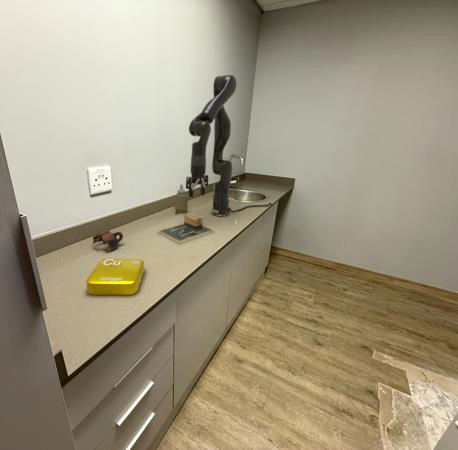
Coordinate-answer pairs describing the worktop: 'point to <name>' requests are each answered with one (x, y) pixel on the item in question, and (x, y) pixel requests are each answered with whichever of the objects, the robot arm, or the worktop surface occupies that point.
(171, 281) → the worktop surface
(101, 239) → the brown teapot
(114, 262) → the element tile
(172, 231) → the chalkboard
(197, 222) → the eraser
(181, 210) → the squeeze bottle
